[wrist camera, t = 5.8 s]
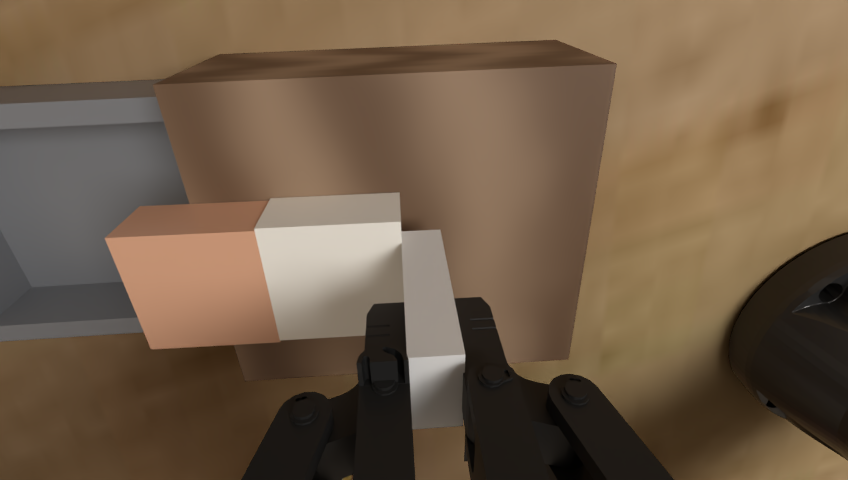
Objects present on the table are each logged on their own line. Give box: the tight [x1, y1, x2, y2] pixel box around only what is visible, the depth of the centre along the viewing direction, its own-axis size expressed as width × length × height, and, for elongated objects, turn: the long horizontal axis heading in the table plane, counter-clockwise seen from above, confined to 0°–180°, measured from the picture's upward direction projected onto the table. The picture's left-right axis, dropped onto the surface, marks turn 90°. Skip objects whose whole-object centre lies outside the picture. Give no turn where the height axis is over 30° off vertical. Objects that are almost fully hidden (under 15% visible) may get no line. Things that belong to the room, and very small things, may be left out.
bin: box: [0, 79, 190, 341], centre depth 23 cm, size 14×12×4 cm
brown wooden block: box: [153, 40, 617, 381], centre depth 23 cm, size 16×14×7 cm
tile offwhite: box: [254, 192, 404, 340], centre depth 18 cm, size 5×5×2 cm
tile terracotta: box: [105, 201, 281, 349], centre depth 18 cm, size 5×5×2 cm
